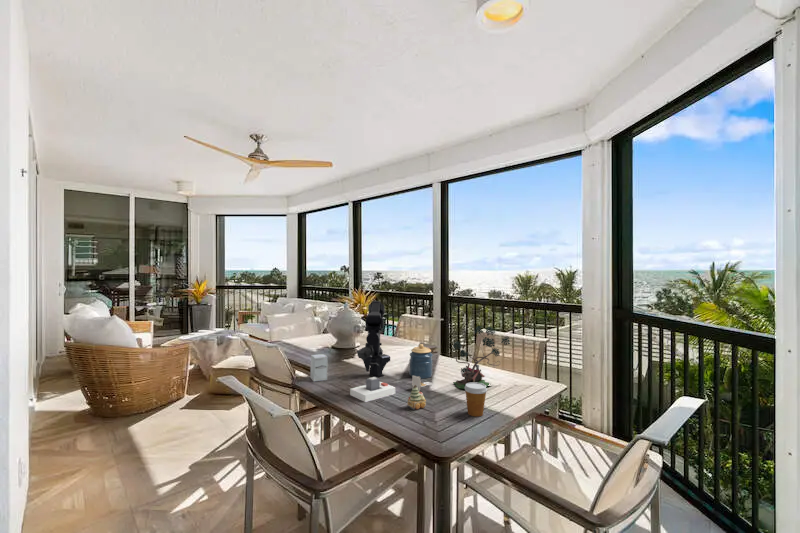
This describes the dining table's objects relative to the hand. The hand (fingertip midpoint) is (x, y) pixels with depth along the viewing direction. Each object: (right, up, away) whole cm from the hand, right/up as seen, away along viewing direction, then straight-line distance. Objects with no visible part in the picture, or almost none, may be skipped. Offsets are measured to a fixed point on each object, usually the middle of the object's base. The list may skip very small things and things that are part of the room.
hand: (373, 373), depth 187 cm
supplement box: (-31, -9, +22) cm, 39 cm away
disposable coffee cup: (+45, -11, -22) cm, 51 cm away
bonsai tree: (+55, -11, +15) cm, 58 cm away
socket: (0, -10, 0) cm, 10 cm away
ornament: (+20, -11, -15) cm, 27 cm away
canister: (+24, -10, +33) cm, 42 cm away
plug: (0, -10, 0) cm, 10 cm away
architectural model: (+21, -11, +7) cm, 25 cm away
